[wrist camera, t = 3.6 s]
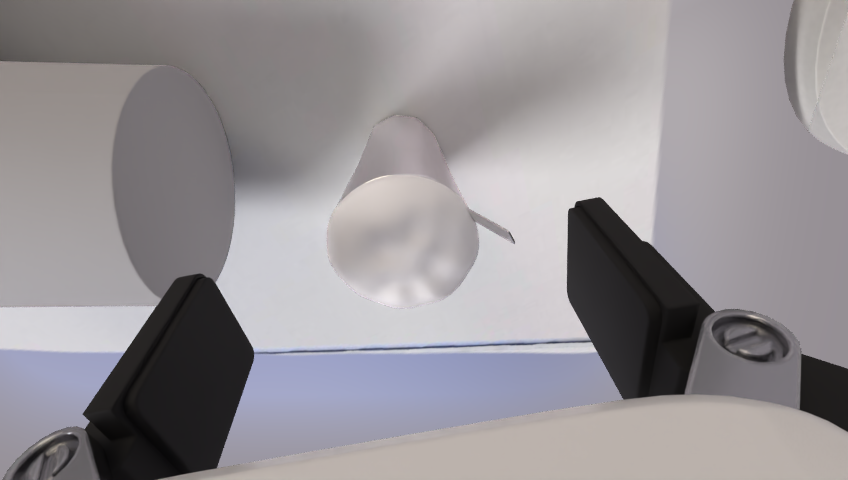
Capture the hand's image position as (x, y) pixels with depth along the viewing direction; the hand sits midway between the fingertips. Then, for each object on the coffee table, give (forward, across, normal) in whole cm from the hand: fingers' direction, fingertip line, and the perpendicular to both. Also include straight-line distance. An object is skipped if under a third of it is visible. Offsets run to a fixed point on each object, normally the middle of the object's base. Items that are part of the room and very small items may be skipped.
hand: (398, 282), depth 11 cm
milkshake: (+10, -1, 0) cm, 10 cm away
